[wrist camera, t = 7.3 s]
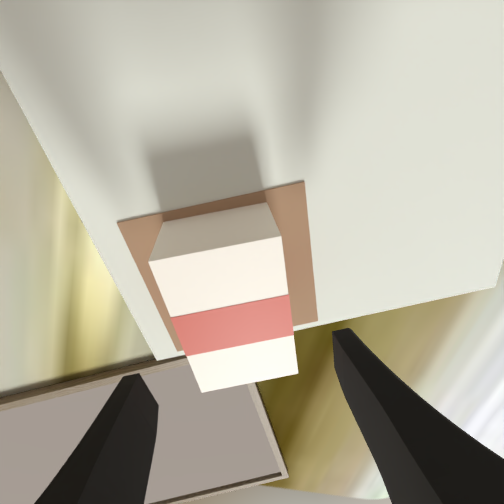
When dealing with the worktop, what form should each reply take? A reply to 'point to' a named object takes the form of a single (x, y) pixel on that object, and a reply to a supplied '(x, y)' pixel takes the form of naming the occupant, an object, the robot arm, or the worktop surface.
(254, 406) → the picture frame
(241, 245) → the card box
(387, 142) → the mat
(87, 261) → the worktop surface
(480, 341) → the worktop surface
